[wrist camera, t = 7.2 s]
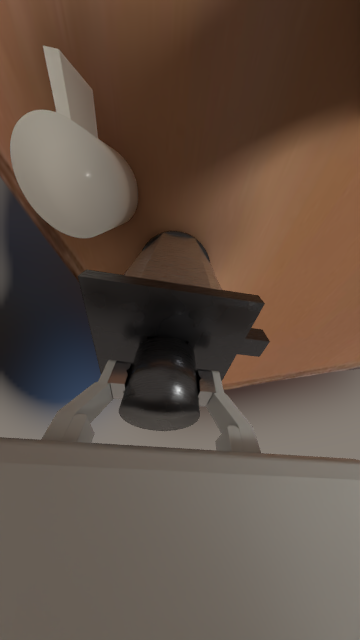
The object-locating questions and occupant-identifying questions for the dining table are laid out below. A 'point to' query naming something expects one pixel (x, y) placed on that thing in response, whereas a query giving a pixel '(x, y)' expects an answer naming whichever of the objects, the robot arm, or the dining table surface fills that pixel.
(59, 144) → the diner mug
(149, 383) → the pump plunger
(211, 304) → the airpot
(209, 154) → the dining table surface
